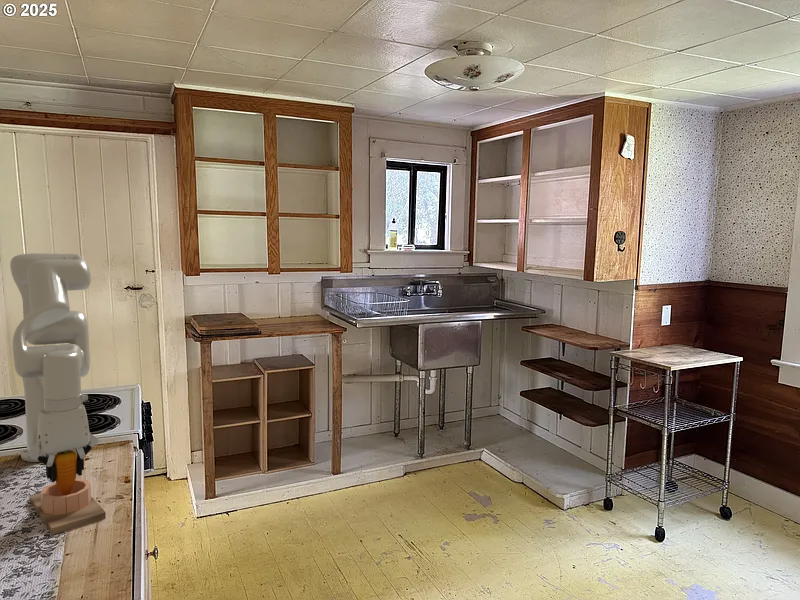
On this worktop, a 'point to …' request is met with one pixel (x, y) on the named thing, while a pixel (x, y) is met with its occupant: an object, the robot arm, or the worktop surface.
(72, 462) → the carrot
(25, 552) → the worktop surface
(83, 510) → the walnut board
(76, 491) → the terracotta cup
